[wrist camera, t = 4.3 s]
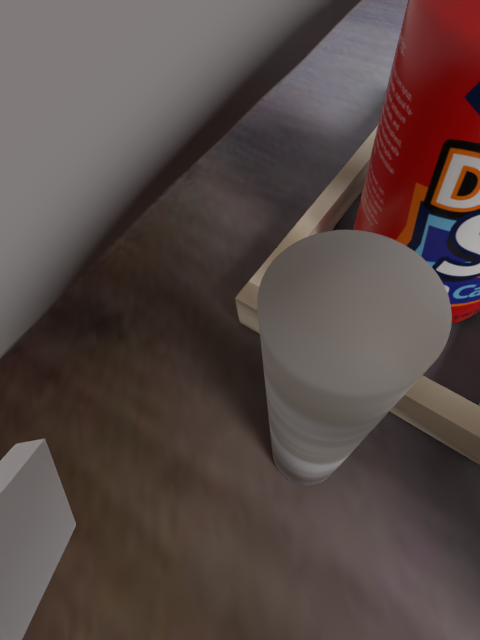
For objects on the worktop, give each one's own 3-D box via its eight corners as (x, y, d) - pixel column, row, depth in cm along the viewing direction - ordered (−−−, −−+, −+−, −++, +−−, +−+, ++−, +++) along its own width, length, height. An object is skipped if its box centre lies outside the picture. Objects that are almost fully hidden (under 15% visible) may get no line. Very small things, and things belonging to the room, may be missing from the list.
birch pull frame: (411, 106, 29) (497, -170, 17) (608, 162, 24) (897, -163, 13) (178, 398, 19) (30, 208, 8) (430, 584, 15) (959, 776, 3)
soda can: (385, 205, 24) (504, -164, 11) (510, 260, 22) (862, -151, 9) (318, 288, 22) (373, -69, 9) (451, 362, 19) (824, -4, 6)
